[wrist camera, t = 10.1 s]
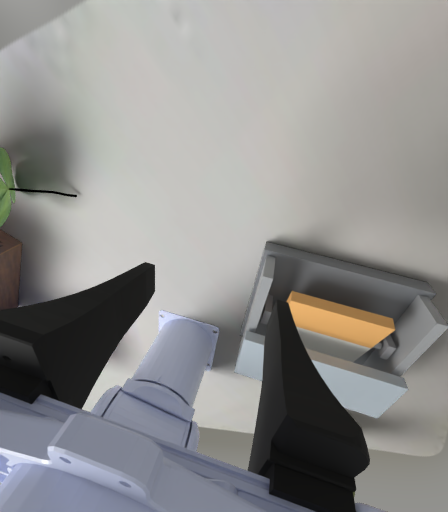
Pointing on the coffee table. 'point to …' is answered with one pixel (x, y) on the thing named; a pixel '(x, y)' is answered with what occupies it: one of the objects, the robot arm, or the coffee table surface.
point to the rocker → (337, 327)
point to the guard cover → (333, 378)
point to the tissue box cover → (9, 270)
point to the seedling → (11, 187)
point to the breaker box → (349, 301)
